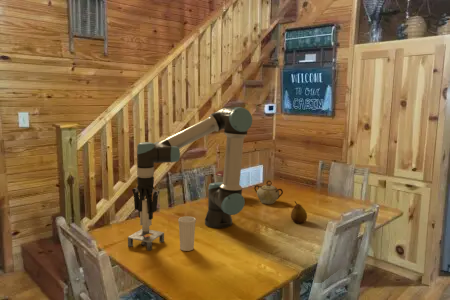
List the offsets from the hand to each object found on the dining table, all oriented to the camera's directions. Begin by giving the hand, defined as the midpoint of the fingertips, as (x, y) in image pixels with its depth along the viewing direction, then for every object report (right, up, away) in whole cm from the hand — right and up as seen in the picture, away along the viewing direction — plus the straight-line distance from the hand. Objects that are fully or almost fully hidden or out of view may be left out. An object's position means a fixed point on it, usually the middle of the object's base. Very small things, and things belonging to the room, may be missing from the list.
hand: (145, 224), depth 172 cm
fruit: (+79, -6, +36) cm, 87 cm away
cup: (+20, -11, -3) cm, 23 cm away
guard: (0, -9, +1) cm, 9 cm away
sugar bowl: (+66, 0, +72) cm, 98 cm away
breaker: (0, -7, +1) cm, 7 cm away
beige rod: (0, -4, +1) cm, 4 cm away
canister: (+38, +2, +82) cm, 91 cm away
